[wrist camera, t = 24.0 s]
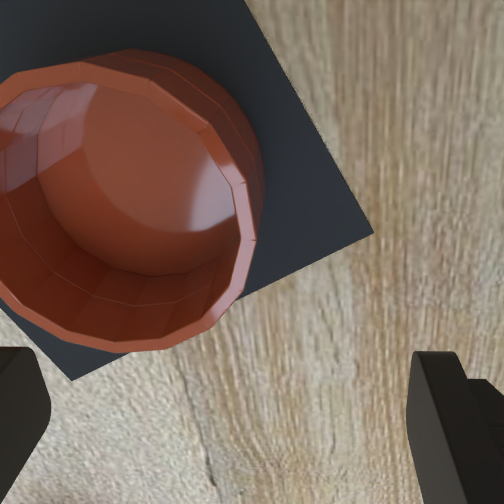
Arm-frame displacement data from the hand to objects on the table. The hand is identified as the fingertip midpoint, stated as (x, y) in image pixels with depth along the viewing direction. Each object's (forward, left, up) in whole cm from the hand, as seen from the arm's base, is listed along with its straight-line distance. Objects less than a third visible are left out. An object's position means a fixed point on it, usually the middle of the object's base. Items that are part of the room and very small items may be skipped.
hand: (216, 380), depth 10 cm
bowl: (+5, -3, -14) cm, 15 cm away
